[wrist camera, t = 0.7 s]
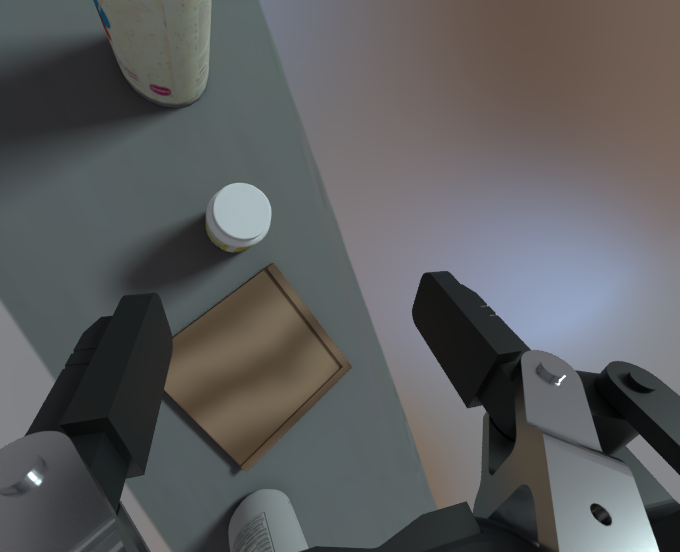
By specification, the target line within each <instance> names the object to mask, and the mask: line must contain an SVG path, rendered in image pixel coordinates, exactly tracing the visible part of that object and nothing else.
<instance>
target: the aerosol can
mask: <svg viewBox="0 0 680 552" xmlns="http://www.w3.org/2000/svg"><path fill="white" fill-rule="evenodd" d="M94 3H95V5H96V8H97V11H98V13H99V16H100V18H101V21H102V23H103V26H104V29H105V31H106V34H107V36H108V39H109V41H110V44H111V46H112V49H113V52H114V54H115V57H116V59H117V62H118V64H119V67H120V69H121V71H122V73H123V75H124V77H125V79H126V81H127V82H128V84H129V85H130V86H131V87H132V88H133V89H134V90H135V91H136V92H137V93H138V94H139V95H141V96H142V97H144V98H145V99H147V100H148V101H150V102H152V103H155V104H157V105H160V106H163V107H170V108H181V107H186V106H190V105H192V104H193V103H195V102H196V101H198V100H199V99H200V98H201V97H202V95H203V94H204V92H205V91H206V87H207V83H208V71H209V46H210V21H211V0H94Z"/></svg>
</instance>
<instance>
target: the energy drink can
mask: <svg viewBox="0 0 680 552" xmlns="http://www.w3.org/2000/svg"><path fill="white" fill-rule="evenodd" d="M228 537H229V546H230V552H299V551H303V550H306V549H309V548H308V546H307V543H306V540H305V538H304V535H303V533H302V530H301V528H300V525H299V523H298V520H297V518H296V515H295V513H294V510H293V507H292V505H291V502H290V500H289V498H288V497H287V496H286V495H285V494H284V493H282V492H281V491H278V490H274V489H261V490H257V491H255V492H253V493H251V494H250V495H248V496H247V497H246V498H245V499H244V500H243V501H242V502H241V504H240V505H239V506H238V508H237V509H236V510H235V512H234V514H233V516H232V518H231V521H230V523H229V529H228Z"/></svg>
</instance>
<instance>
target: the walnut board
mask: <svg viewBox="0 0 680 552" xmlns="http://www.w3.org/2000/svg"><path fill="white" fill-rule="evenodd" d="M172 339H173V351H172V357H171V361H170V366H169V370H168V374H167V379H166V383H165V387H164V390H165V391H166V392H167V393H168V394H169V395H170V396H171V397H172V398H173V399H174V400H175V401H176V402H177V403H178V404H179V405H180V406H181V407H182V408H183V409H184V410H185V411H186V412H187V413H188V414H189V415H190V416H191V417H192V418H193V419H194V420H195V421H196V422H197V423H198V424H199V425H200V426H201V427H202V428H203V429H204V430H205V431H206V432H207V433H208V434H209V435H210V436H211V437H212V438H213V439H214V440H215V441H216V442H217V443H218V444H219V445H220V446H221V447H222V448H223V449H224V450H225V451H226V452H227V453H228V454H229V455H230V456H231V457H232V458H233V459H234V460H235V461H236V462H237V463H238V464H239V465H240V467H241V468H242V469H243V470H244V471H245V472H247V471H248V470H249V469H250V468H251V467H252V466H253V465H254V464H255V463H256V462H257V461H258V460H259V459H260V458H261V457H262V456H263V455H264V454H265V453H266V452H267V451H268V450H269V449H270V448H271V447H272V446H273V445H274V444H275V443H276V442H277V441H278V440H279V439H280V438H281V437H282V436H283V435H284V434H285V433H286V432H287V431H288V430H289V429H290V428H291V427H292V426H293V425H294V424H295V423H296V422H297V421H298V420H299V419H300V418H301V417H302V416H304V415H305V414H306V413H307V412H308V411H309V410H310V409H311V408H312V407H313V406H314V405H315V404H316V403H317V402H318V401H319V400H320V399H321V398H322V397H323V396H324V395H325V394H326V393H327V392H328V391H329V390H330V389H331V388H332V387H333V386H334V385H335V384H336V383H337V382H338V381H339V380H340V379H341V378H342V377H343V376H344V375H345V374H346V373H347V372H348V371H349V370H350V369H351V368H352V366H351V365H350V363H349V362H348V361H347V359H346V358H345V357H344V355H343V354H342V353H341V351H340V350H339V349H338V348H337V346H336V345H335V344H334V342H333V341H332V340H331V338H330V337H329V336H328V334H327V333H326V332H325V330H324V329H323V328H322V326H321V325H320V324H319V322H318V321H317V320H316V318H315V317H314V316H313V314H312V313H311V312H310V311H309V309H308V308H307V307H306V305H305V304H304V303H303V301H302V300H301V299H300V297H299V296H298V295H297V293H296V292H295V291H294V289H293V288H292V287H291V285H290V284H289V283H288V281H287V280H286V279H285V278H284V276H283V275H282V274H281V272H280V271H279V270H278V268H277V267H276V266H275V264H274V263H271V264H270V265H269V266H267V267H266V268H265V269H263V270H262V271H261V272H259V273H258V274H257V275H255V276H254V277H253V278H251V279H250V280H249V281H247V282H246V283H245V284H243V285H242V286H241V287H239V288H238V289H237V290H235V291H234V292H233V293H231V294H230V295H229V296H227V297H226V298H225V299H223V300H222V301H221V302H219V303H218V304H217V305H215V306H214V307H213V308H211V309H210V310H209V311H207V312H206V313H205V314H203V315H202V316H201V317H199V318H198V319H197V320H195V321H194V322H193V323H191V324H190V325H189V326H187V327H186V328H185V329H183V330H182V331H181V332H179V333H178V334H177V335H175V336H174V337H173V338H172Z"/></svg>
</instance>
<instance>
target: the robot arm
mask: <svg viewBox="0 0 680 552" xmlns="http://www.w3.org/2000/svg"><path fill="white" fill-rule="evenodd" d="M412 316H413V320H414V323H415V325H416V327H417V329H418V330H419V332H420V333H421V335H422V337H423V338H424V340H425V341H426V343H427V345H428V346H429V348H430V349H431V351H432V353H433V354H434V356H435V357H436V359H437V360H438V362H439V363H440V365H441V367H442V368H443V370H444V372H445V373H446V375H447V376H448V378H449V379H450V381H451V383H452V384H453V386H454V388H455V389H456V391H457V392H458V394H459V396H460V397H461V399H462V400H463V402H464V403H465V405H466V407H467V408H471V407H476V406H481V405H483V407H484V408H485V410H486V413H485V415H484V417H483V442H482V471H481V473H482V475H481V483H480V487H479V490H478V493H477V496H476V499H475V504H474V509H473V513H472V512H471V509H470V507H469V505H468V503H467V502H463V503H459V504H456V505H453V506H450V507H446V508H443V509H439V510H436V511H433V512H429V513H426V514H423V515H421V516H420V517H418V518H417V519H416V520H414V521H413V522H412V523H410V524H409V525H408V526H406V527H405V528H404V529H402V530H401V531H400V532H398V533H397V534H396V535H394V536H393V537H392V538H390V539H389V540H388V541H387V542H385V543H384V544H383V545H381V546H379V547H377V548H373V549H366V548H342V547H318V546H316V547H313V548H309V549H306V550H303V551H299V552H680V504H679V503H678V502H676V501H675V500H674V499H673V498H672V496H671V495H670V494H669V493H668V492H667V491H666V490H665V489H664V488H663V486H662V485H661V484H660V483H659V482H658V481H657V480H656V479H655V478H654V477H653V475H652V474H650V472H649V471H648V470H647V469H646V468H645V467H644V466H643V465H642V464H641V462H640V461H639V460H638V459H637V458H636V457H635V456H634V455H633V454H632V453H631V452H630V450H629V449H628V448H627V447H626V446H625V445H627V444H628V443H629V442H630V441H632V440H633V439H634V438H635V437H636V436H638V435H639V434H640V435H641V436H642V437H643V438H644V439H645V440H646V441H647V442H648V443H649V444H650V445H651V446H652V447H653V448H654V449H655V450H656V451H657V452H658V453H659V454H660V455H661V456H662V457H663V459H665V461H666V462H668V464H669V465H670V466H671V467H672V468H673V469H674V470H675V471H676V472H677V473H678V474H679V475H680V396H679V395H678V394H677V393H675V392H674V391H673V390H672V389H671V388H669V387H668V386H667V385H666V384H664V383H663V382H662V381H661V380H659V379H658V378H657V377H656V376H654V375H653V374H651V373H650V372H648V371H646V370H644V369H642V368H640V367H638V366H636V365H633V364H630V363H627V362H621V361H615V362H611V363H609V364H608V365H607V366H606V367H605V369H604V370H603V371H602V372H601V373H600V374H598V373H590V372H582V371H575V370H574V369H573V368H572V367H571V366H570V365H569V364H568V363H566V362H565V361H563V360H562V359H560V358H559V357H557V356H555V355H553V354H550V353H548V352H544V351H539V350H531V349H529V347H527V346H526V345H525V344H524V342H523V341H522V340H521V339H520V338H519V337H518V336H517V335H516V334H515V333H514V332H513V331H512V330H511V329H510V328H509V327H508V326H507V325H506V324H505V323H504V321H503V320H502V319H501V318H500V317H499V316H496V314H495V312H494V311H493V310H492V309H491V308H490V307H489V306H488V307H487V304H486V303H485V302H484V301H483V299H482V298H480V296H479V295H478V294H477V293H475V292H474V291H472V290H470V289H469V288H467V287H466V286H464V285H461V284H460V283H459V282H458V281H457V280H456V279H455V278H454V276H453V275H452V274H451V273H449V272H448V271H440V272H428V273H424V274H423V276H422V278H421V281H420V284H419V287H418V291H417V294H416V298H415V301H414V304H413V308H412ZM172 351H173V339H172V333H171V330H170V327H169V324H168V321H167V318H166V314H165V311H164V308H163V305H162V302H161V299H160V297H159V295H158V294H157V293H151V294H138V295H126V296H123V297H122V298H121V300H120V302H119V304H118V306H117V308H116V310H115V312H114V314H113V316H107V317H101V318H99V319H98V320H97V321H96V322H95V323H94V324H93V325H92V326H90V327H89V328H88V329H87V330H86V331H85V332H84V333H83V334H82V336H81V338H80V339H79V341H78V343H77V345H76V347H75V348H74V353H73V354H71V355H70V357H69V359H68V361H67V363H66V364H65V369H63V370H62V371H61V373H60V375H59V377H58V379H57V380H56V382H55V384H54V386H53V388H52V389H51V391H50V393H49V394H48V396H47V398H46V400H45V402H44V403H43V405H42V407H41V409H40V411H39V413H38V414H37V416H36V418H35V419H34V421H33V423H32V425H31V426H30V428H29V430H28V432H27V433H26V435H25V436H24V437H22V438H20V439H18V440H16V441H14V442H12V443H10V444H8V445H6V446H5V447H3V448H2V449H0V552H150V550H149V548H148V547H147V545H146V543H145V541H144V540H143V538H142V536H141V535H140V533H139V531H138V530H137V528H136V526H135V524H134V523H133V521H132V519H131V518H130V516H129V514H128V513H127V511H126V509H125V507H124V506H123V504H122V502H121V501H120V497H121V494H122V490H123V486H124V483H125V479H127V478H132V477H137V476H141V475H144V473H145V469H146V465H147V460H148V456H149V452H150V448H151V443H152V439H153V435H154V430H155V426H156V422H157V417H158V413H159V409H160V404H161V400H162V396H163V392H164V387H165V383H166V379H167V374H168V370H169V366H170V361H171V357H172Z"/></svg>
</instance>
